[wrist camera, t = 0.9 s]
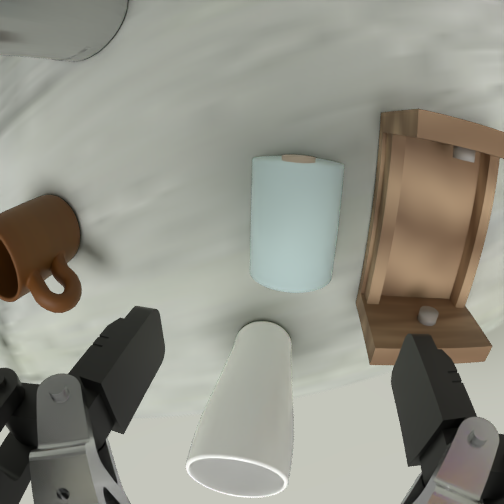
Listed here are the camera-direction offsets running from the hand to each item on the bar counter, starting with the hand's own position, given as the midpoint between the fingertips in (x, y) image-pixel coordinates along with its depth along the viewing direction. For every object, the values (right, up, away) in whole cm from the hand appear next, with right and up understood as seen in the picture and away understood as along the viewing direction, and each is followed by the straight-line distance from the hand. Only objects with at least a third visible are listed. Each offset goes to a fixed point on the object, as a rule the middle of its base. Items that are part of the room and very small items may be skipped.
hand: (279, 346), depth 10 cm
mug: (-19, +4, +19) cm, 28 cm away
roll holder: (+13, +5, +13) cm, 19 cm away
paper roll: (+3, +6, +15) cm, 16 cm away
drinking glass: (0, -5, +20) cm, 21 cm away
